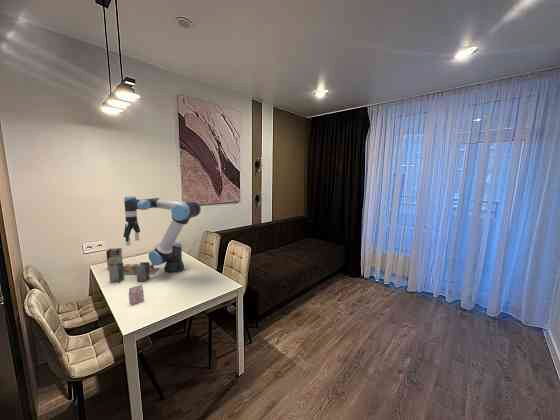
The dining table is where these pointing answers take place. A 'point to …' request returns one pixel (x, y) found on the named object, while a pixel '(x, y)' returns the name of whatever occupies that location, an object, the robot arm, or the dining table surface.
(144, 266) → the post
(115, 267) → the post
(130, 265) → the rail
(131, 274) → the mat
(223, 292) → the dining table surface
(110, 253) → the coffee box
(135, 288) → the pink rectangular block
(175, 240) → the robot arm
